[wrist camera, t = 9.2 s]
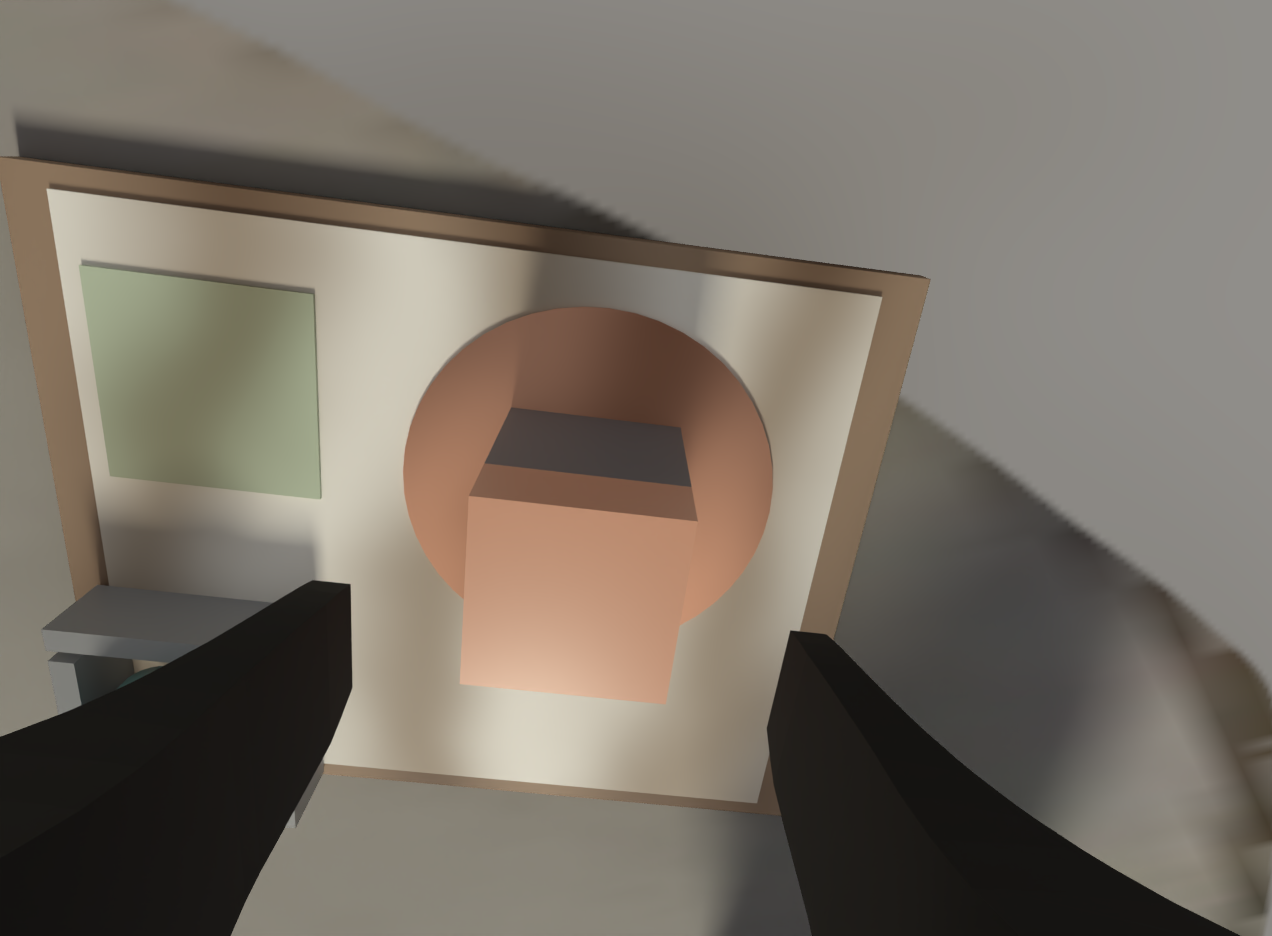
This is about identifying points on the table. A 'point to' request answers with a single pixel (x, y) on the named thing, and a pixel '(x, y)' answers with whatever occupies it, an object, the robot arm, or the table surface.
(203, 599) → the button housing
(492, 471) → the salmon block
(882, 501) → the table surface
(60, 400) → the colouring board
